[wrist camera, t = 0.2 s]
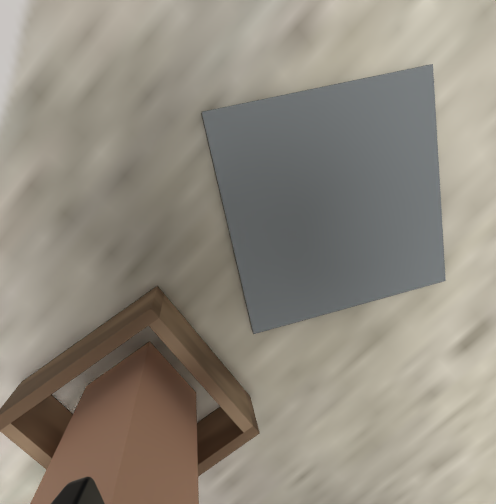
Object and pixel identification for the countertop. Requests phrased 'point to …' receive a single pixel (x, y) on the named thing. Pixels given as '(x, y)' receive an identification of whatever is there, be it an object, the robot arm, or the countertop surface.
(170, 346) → the wooden frame
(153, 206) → the countertop surface
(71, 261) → the countertop surface
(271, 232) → the rubber mat
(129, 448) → the terracotta block
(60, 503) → the robot arm
